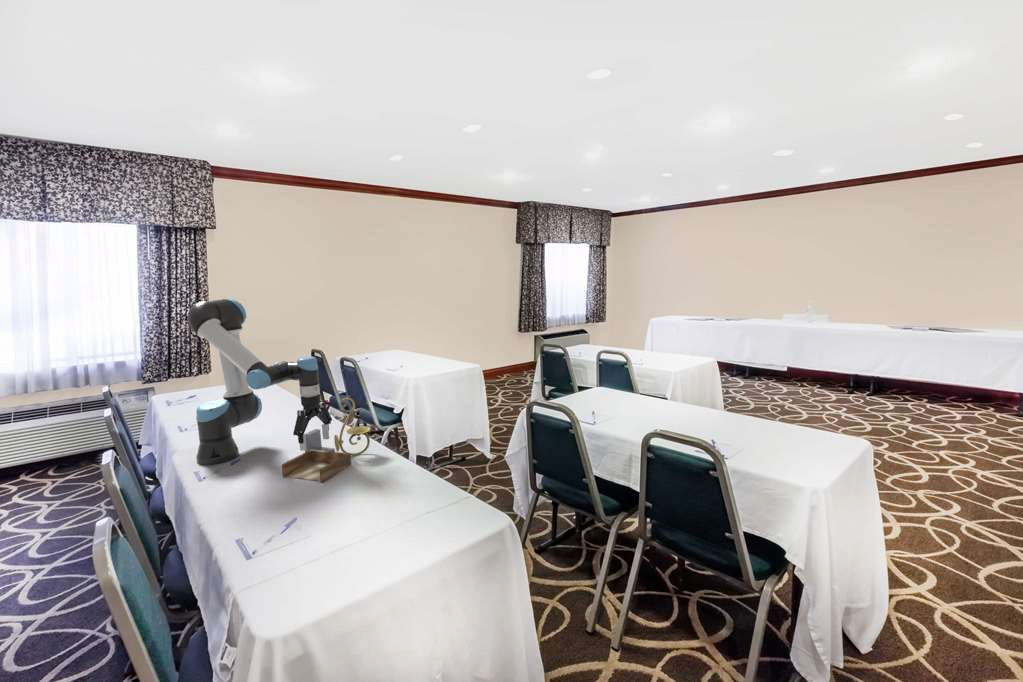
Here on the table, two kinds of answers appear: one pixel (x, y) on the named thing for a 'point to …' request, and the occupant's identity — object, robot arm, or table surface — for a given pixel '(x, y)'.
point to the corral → (316, 465)
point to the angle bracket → (315, 441)
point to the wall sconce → (351, 432)
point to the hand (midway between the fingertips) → (315, 444)
